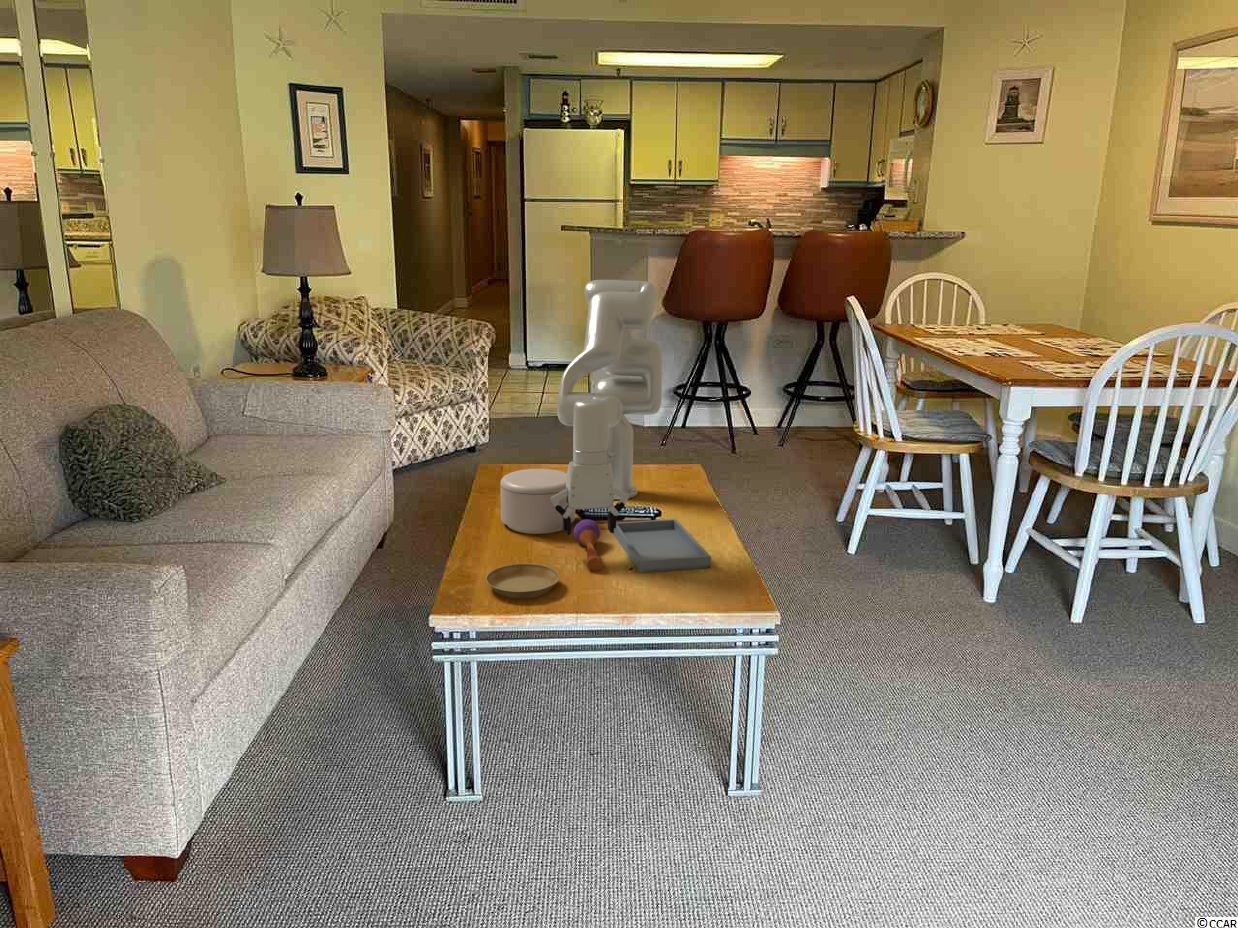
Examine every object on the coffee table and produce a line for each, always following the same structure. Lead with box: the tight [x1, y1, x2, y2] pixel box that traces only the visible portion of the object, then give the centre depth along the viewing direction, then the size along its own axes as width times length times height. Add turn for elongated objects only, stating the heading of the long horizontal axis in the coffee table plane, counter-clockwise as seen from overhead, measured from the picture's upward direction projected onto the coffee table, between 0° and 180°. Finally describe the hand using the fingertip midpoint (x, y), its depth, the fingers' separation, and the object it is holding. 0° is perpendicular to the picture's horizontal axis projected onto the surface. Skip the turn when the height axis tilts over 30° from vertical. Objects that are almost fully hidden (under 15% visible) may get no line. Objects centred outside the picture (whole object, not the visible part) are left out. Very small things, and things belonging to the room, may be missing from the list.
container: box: [499, 468, 576, 535], centre depth 223 cm, size 18×18×12 cm
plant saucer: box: [485, 563, 561, 600], centre depth 186 cm, size 15×15×3 cm
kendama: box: [573, 519, 603, 572], centre depth 204 cm, size 6×6×20 cm
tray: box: [612, 518, 712, 574], centre depth 208 cm, size 26×16×3 cm, turn 13°
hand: (589, 532), depth 203 cm, fingers open, 9 cm apart
